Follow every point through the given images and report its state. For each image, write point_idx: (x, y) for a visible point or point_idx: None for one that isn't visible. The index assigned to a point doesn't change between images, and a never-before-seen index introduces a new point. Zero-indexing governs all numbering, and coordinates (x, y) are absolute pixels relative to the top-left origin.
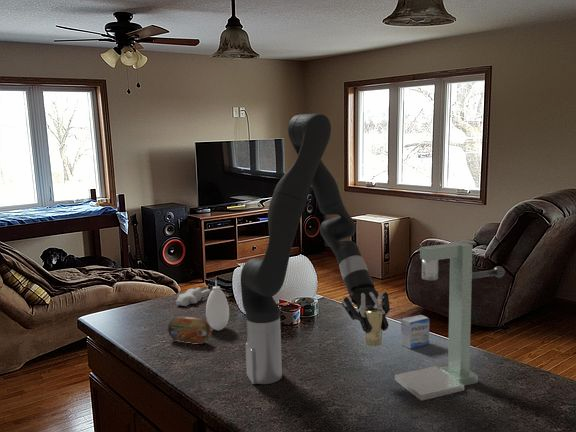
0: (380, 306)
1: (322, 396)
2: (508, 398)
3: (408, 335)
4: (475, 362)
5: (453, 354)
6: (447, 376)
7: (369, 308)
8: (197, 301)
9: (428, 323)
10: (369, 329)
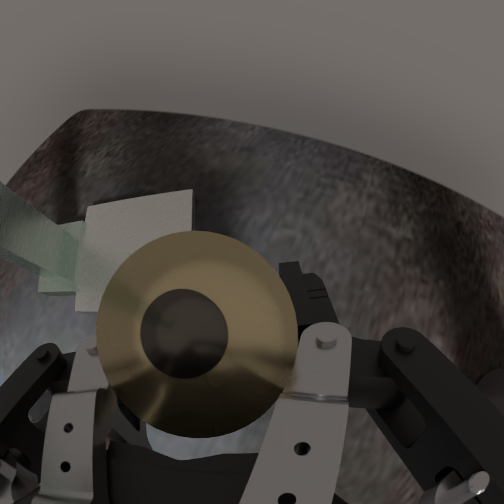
0: (69, 393)
1: (415, 286)
2: (66, 173)
3: None
4: (13, 310)
5: (38, 242)
6: (86, 251)
7: (198, 430)
8: None
9: None
10: (291, 263)
